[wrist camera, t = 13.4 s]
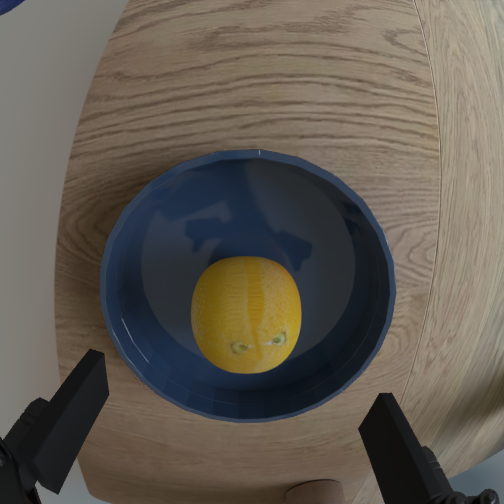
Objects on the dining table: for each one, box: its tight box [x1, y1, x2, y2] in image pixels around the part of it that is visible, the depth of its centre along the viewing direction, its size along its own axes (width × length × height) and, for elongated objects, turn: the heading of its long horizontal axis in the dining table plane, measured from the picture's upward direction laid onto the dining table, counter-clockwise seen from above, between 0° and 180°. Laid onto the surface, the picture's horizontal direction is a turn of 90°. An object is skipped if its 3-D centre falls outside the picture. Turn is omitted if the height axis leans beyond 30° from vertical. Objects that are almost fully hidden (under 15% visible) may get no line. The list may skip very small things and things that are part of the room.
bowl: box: [100, 149, 396, 423], centre depth 23 cm, size 23×23×5 cm
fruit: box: [191, 256, 301, 374], centre depth 21 cm, size 9×8×8 cm
